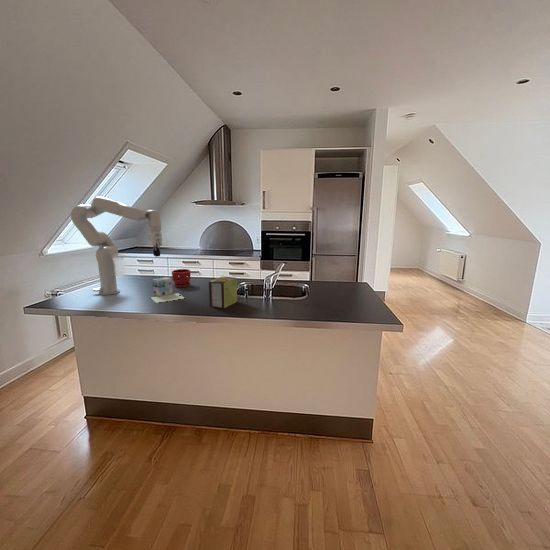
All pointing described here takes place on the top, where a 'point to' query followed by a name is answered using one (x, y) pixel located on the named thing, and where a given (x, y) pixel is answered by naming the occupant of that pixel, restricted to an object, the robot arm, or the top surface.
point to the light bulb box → (162, 286)
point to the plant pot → (181, 277)
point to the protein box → (223, 291)
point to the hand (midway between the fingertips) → (156, 255)
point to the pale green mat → (166, 298)
